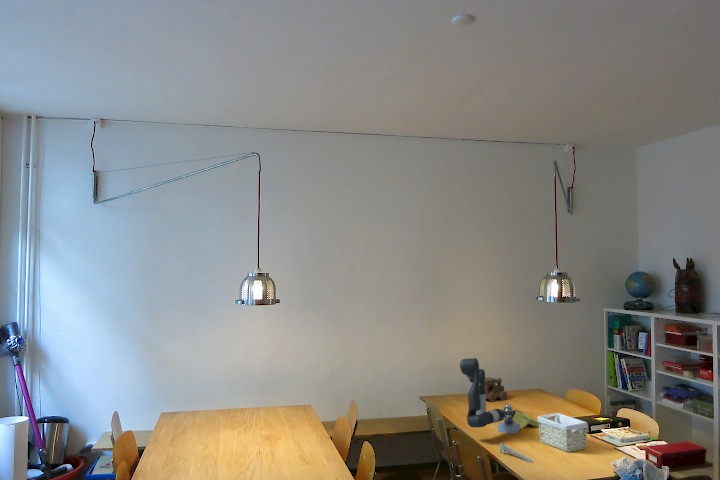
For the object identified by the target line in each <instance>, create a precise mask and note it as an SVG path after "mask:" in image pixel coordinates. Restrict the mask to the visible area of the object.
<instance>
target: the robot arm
mask: <svg viewBox="0 0 720 480" xmlns="http://www.w3.org/2000/svg"><path fill="white" fill-rule="evenodd" d="M459 369H460V372H461V373H462V374H463V375H465V376H466V377H467V378H468V381H469V382H470V383H472V384H471V386H470V388H469V391H468V393H467V404H468V410H467V417H466V418H467V419H466V421H467V422H466V423H467V425H468V426H469V427H470V428H483V427H486V426H488V425H491V424H496V423H499V422H503V420H504V418H505V417H509V418H512V417H514V414H516V413H515V411H514V410H513V411H510V412H509V411H504V408H502V409H500V408H494V409H491V410H488V411H487V401H486V400H487V399H486V395H485V378H486V371H485V369H481V368H480V364H479V360H478V358H477V357H475V358H474V357H473V358H472V357H471V358H463V359H461V360H460V362H459ZM506 412H507V413H506Z"/></svg>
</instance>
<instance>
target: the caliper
mask: <svg viewBox="0 0 720 480" xmlns="http://www.w3.org/2000/svg"><path fill="white" fill-rule="evenodd" d="M498 449H499V453H500V454H502V455H505V453H508V454H509V455H511V454H513V455H515V456H517V457H519V458H520V459H523V460H524V461H526V462H529V463H534V461H533V460H532V458H529V457H527V456H525V455H523V454H521V453H520V452H517V451H515V450H513V449H512V448H511V447H509V446H507V445H505V442H504V443H503V441H502V442H500V444H499V448H498Z"/></svg>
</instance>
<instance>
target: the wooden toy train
mask: <svg viewBox="0 0 720 480" xmlns="http://www.w3.org/2000/svg"><path fill="white" fill-rule="evenodd" d="M502 382H503V380H502V378H500V377H497V378H493V377H489V376H488V377H485V395H486V400H489V402H490V403H493V402H495V401H496V399H497V398H498V399H500V400H501V401H506V400H507V399H508V392H507V391H506V390H505V387H504V385H502Z"/></svg>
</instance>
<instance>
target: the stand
mask: <svg viewBox="0 0 720 480" xmlns="http://www.w3.org/2000/svg"><path fill="white" fill-rule="evenodd" d="M520 430H521V427H520V423H515V422H514V421H513V424H506V423H504V421H501V423H499V424H497V431H498V432H500V433H505V434H506V433H507V434H511V435H515V434H516V433H518V432H519V431H520Z"/></svg>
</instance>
